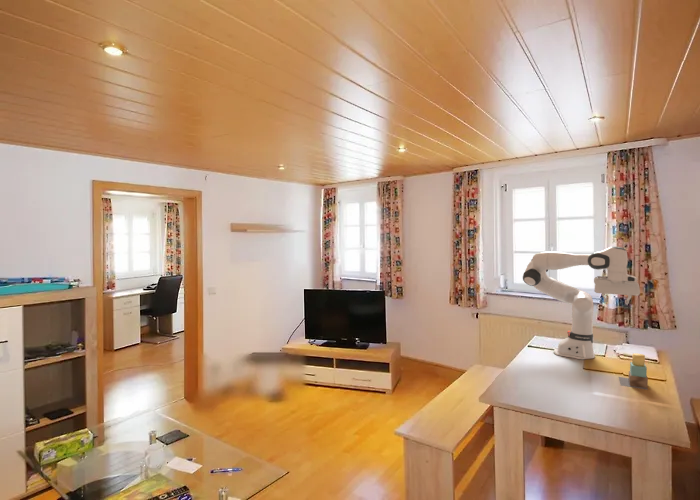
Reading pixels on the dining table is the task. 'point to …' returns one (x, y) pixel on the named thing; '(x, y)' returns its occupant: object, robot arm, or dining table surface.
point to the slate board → (626, 383)
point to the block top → (638, 370)
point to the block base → (638, 381)
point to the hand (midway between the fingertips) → (616, 302)
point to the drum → (638, 359)
